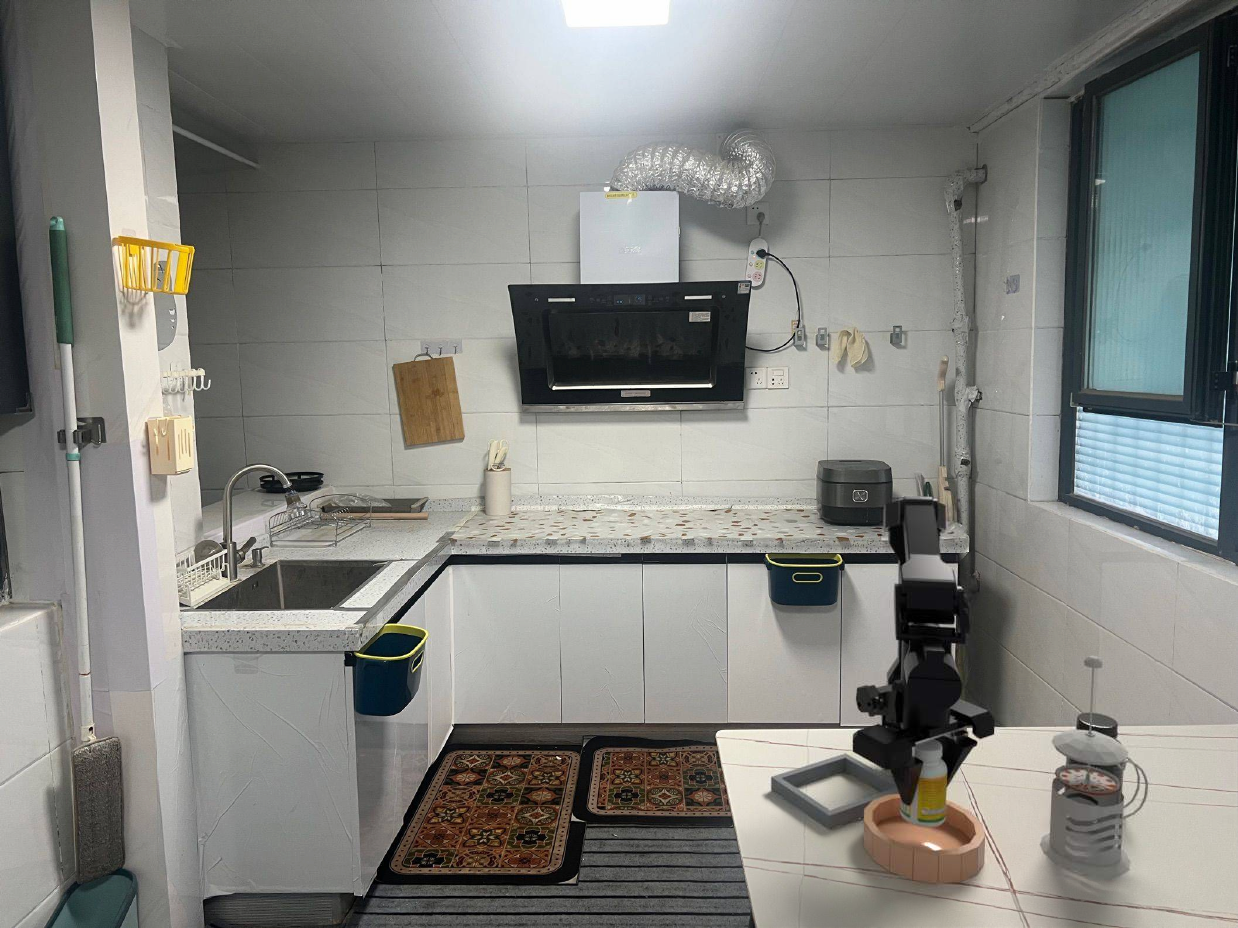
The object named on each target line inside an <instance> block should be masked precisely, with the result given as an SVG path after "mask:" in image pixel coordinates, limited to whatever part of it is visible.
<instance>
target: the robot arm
mask: <svg viewBox="0 0 1238 928" xmlns="http://www.w3.org/2000/svg"><path fill="white" fill-rule="evenodd" d="M946 507H947V506H946V504H945V503H943V502H942V503H941V502H939V501H938V498H933V496H918V495H917V496H916V495H915V496H914V495H913V496H911V495H910V496H908V495H907V496H906V495H905V496H904V497H899V498H898V500H892V501H891V502H888V503H884V506H883V515H882V516H883V520H882V521H883V522H882V523H883V532H884V533H887V542H888V544H889V545H890V547H891V549H892V551H893V552H894V554H895V556H896V558H897V559H898V560H897V561H898V568H897V569H898V570H897V571H898V581H897V583H894V584H893V612H894V613H893V614H894V617H893V619H894V636H895V641H897V657H896V658H895V660H894V662H893V663H892V664H891V666H890V667H889V669H888V670H887V672H886V684H885V685H881V686H878V687H877V686H876V685H875V684H871V685H868V684H866V685H865V684H864V685H861V686H858V687H856V695H855V702H856V707H857V710H858V711H859V712H860V713H862V714H863V713H865V714H866V713H867V715H868V716H869V717H872V718H874V717H875V716H880V721H881V724H880V723H876V724H874V725H871V726H867V727H864V728H861V729H858V730H857V731H855V732H854V733H852V753H854V754H856V755H858V756H859V757H861V758H863V759H865V760H867V761H868V762H870V763H872V764H874V765H875V766H878V767H880V768H881V769H883V770H887V771H890V773H891V775H892V777H893V780H894V781H895V784H896V786H897V789H898V792H899V795H900V798H901V800H902V802H903V803H904V804H906V805H907V806H910V805H911V804H912V801H913V798H914V795H915V792H916V788H917V785H918V781H919V777H920V774H921V770H922V767H923V763H924V761H922V760H920V759H918V758H916V757H915V748H916V745H917V744H920V743H923V742H926V741H929V740H932V739H934V740H936V741H938V742H940V743H941V745H942V757H941V759H942V760H943V761H944V762H945V764H946V766H947V788H948V787H949V785H950V784H951V782H952V781H953V778H954V777H955V775H956V773H958V770H959V769H960V767H961V766H962V765H963V763H964V761H965V760H966V759H967V757H968V756H969V754H970V753H971V751H972V750H973V749H974V748H975V747H977V746H978V744H979V743H978V740H976V739H974V738H972V737H970V736H969V731H968V727H969V726H972V727H971V728H972V730H971V731H972V732H971V733H972V735H973V736H974V737H976V738H977V739H979V740H982V739H986V738H989V737H991V736H994V735H995V726H996V725H995V722H996V721H995V718H994V717H993V716H992V714H991V712H990V711H989V710H987V709H985V708H983V707H981V706H978V705H976V704H973V703H971V702H968V701H965V700H964V699H962V698H961V696H962V691H963V683H962V682H963V681H962V679H961V676H960V674H959V671H958V667H957V665H956V662H955V661H956V660H955V658H954V656H953V653H952V651H953V650H952V649H953V648H952V647H953V644H959V645H960V644H961V645H966V643H967V641H966V634H967V635H968V634H970V630H971V627H970V626H971V625H970V617H969V616H970V615H969V614H970V613H969V606H968V605H969V604H968V596H967V595H966V594H965V593H964V588H963V587H962V586H960V585H957V578H956V575H955V570H954V569H953V568H952V567H951V566H949V565H948V564H946V562H944V561H943V559H942V555H941V553H942V552H941V548H940V547H941V546H940V537H941V536H940V535H941V534H944V533H945V532H946V530H947V508H946ZM955 623H956V627H957V629H956V627H950V626H951V625H954V624H955ZM940 625H943V626H940ZM944 625H945V626H944Z"/></svg>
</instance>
